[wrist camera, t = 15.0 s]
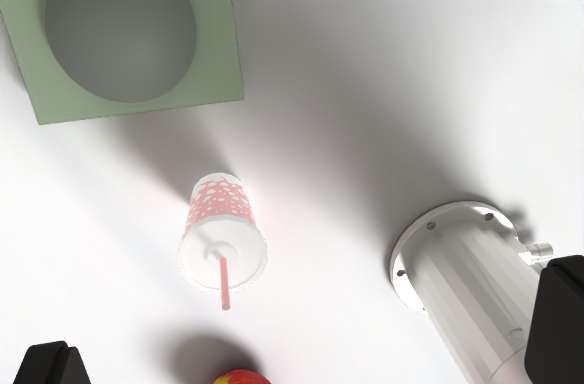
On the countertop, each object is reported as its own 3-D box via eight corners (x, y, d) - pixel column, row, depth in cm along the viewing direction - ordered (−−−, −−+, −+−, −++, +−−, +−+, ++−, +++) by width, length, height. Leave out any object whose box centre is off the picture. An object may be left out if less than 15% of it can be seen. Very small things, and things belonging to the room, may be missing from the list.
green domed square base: (217, -94, 33) (219, -97, 29) (241, 88, 38) (245, 103, 35) (-9, -75, 31) (-36, -75, 28) (50, 111, 37) (34, 130, 33)
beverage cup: (171, 176, 41) (157, 282, 28) (244, 154, 41) (262, 251, 28) (196, 237, 44) (193, 357, 31) (264, 217, 44) (288, 329, 31)
